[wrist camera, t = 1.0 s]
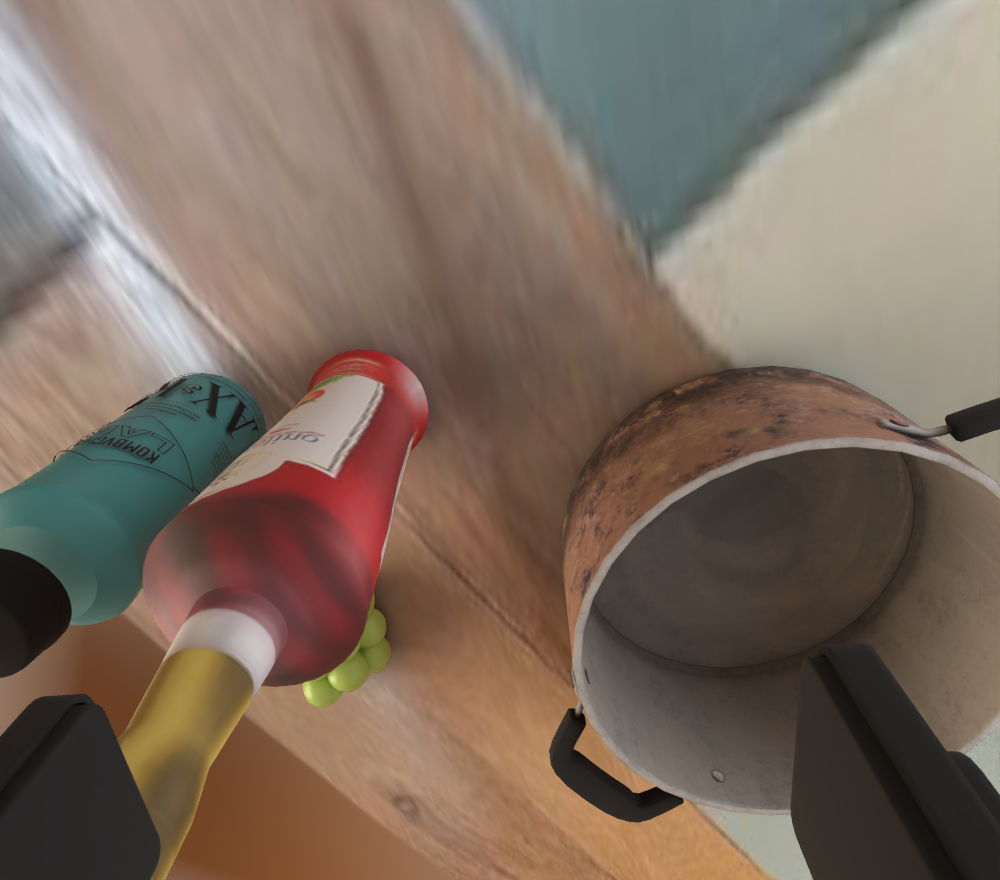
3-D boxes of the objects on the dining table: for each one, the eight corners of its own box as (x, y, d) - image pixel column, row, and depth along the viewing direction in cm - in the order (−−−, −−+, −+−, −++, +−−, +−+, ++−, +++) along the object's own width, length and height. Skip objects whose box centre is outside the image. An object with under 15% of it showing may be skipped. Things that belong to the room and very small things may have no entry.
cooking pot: (828, 223, 35) (950, 253, 25) (1059, 488, 40) (1233, 598, 30) (448, 578, 44) (427, 702, 34) (678, 753, 50) (717, 903, 40)
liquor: (349, 476, 41) (68, 1015, 16) (285, 371, 39) (-178, 811, 13) (456, 429, 40) (339, 939, 14) (396, 318, 37) (122, 693, 12)
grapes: (320, 532, 43) (299, 572, 39) (425, 567, 44) (415, 610, 40) (277, 666, 47) (253, 716, 43) (372, 696, 48) (358, 747, 44)
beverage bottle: (289, 459, 41) (102, 712, 23) (183, 466, 41) (-86, 720, 23) (266, 355, 38) (32, 546, 20) (153, 364, 39) (-177, 558, 20)
